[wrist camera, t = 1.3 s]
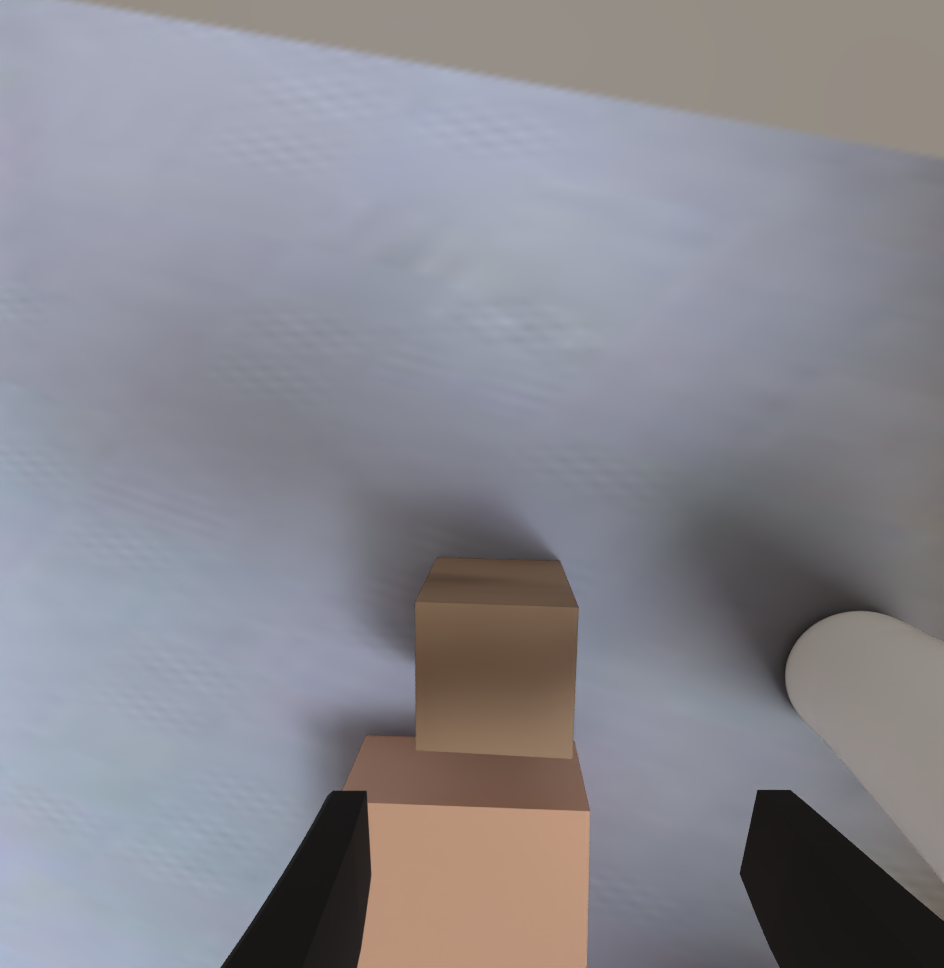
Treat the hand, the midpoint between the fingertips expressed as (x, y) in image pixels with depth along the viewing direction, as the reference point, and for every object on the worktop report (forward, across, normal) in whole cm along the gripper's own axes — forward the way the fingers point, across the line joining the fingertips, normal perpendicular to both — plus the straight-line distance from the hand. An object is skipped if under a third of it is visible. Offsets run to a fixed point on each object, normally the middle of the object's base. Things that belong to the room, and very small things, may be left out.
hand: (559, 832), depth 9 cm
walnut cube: (+11, 0, +2) cm, 11 cm away
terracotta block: (+10, +1, +12) cm, 16 cm away
